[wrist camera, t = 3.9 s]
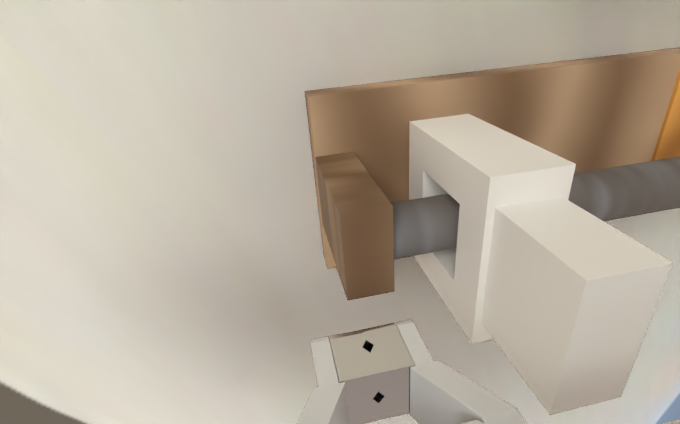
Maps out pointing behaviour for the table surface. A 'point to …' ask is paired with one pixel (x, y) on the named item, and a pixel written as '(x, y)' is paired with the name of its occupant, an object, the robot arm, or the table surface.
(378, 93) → the pipe stand
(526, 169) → the collar
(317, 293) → the table surface
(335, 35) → the table surface
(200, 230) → the table surface
